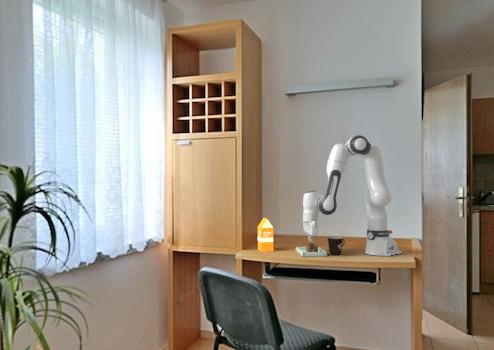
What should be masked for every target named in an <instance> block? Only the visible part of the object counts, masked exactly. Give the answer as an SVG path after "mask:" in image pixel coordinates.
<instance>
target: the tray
mask: <svg viewBox="0 0 494 350" xmlns="http://www.w3.org/2000/svg"><path fill="white" fill-rule="evenodd" d="M295 252H296V253H298V254H299V255H300V256H301V257H302V258H314V257H317V258H318V257H320V258H321V257H328V251H326V250H325V249H323V248H321V247H320V246H318V252H306V246H296V247H295Z"/></svg>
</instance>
